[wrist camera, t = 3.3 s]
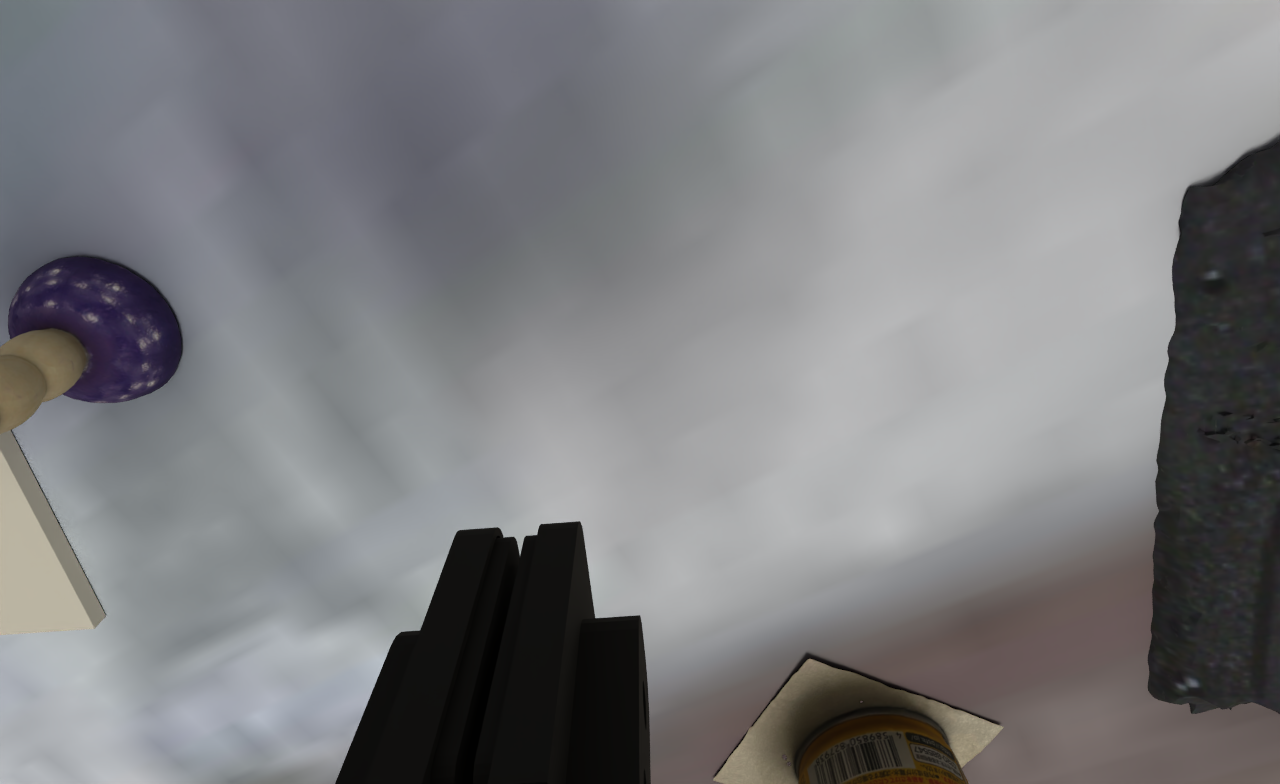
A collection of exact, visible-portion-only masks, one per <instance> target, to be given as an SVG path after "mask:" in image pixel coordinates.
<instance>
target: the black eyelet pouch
mask: <svg viewBox="0 0 1280 784" xmlns="http://www.w3.org/2000/svg"><path fill="white" fill-rule="evenodd" d="M1179 226H1180V230H1181V235H1180V239H1179V241H1178V244H1177V248H1176V251H1175V254H1174V258H1173V265H1172V281H1173V291H1174V297H1175V313H1176V326H1175V331H1174V334H1173V336H1172V338H1171V340H1170V342H1169V345H1168V351H1167V352H1168V356H1169V362H1168V367H1167V370H1166V373H1165V379H1164V387H1165V392H1166V401H1165V406H1164V410H1163V414H1162V420H1161V433H1160V443H1159V449H1158V454H1157V464H1158V474H1157V478H1156V481H1155V482H1156V501H1157V506H1158V509H1159V513H1158V515H1157V517H1156V519H1155V522H1154V529H1155V534H1156V535H1155V545H1154V551H1153V562H1154V583H1153V589H1152V597H1153V618H1152V623H1151V633H1152V640H1151V644H1150V650H1149V654H1148V665H1149V680H1148V691H1149V692H1150V694H1151V695H1152V696H1153V697H1154V698H1156V699H1158V700H1161V701H1165V702H1168V703H1173V704H1179V705H1182V704H1186V703H1189V705H1190V708H1191V713H1192V714H1197V713H1201V712H1205V711H1208V710H1212V709H1216V708H1221V709H1227V708H1229V709H1230V710H1231V708H1232V707H1234V706H1236V705H1238V704H1247V703H1251V702H1253V703H1256V704H1259V705H1262V706H1264V707H1266V708H1269V709H1271V710H1274V711H1276V712H1278V713H1279V714H1280V141H1279V142H1278V143H1277V144H1276V145H1274V146H1273V147H1272V148H1270V149H1267V150H1264V151H1261V152H1257V153H1255V154H1253V155H1250V156H1248V157H1247V158H1245V159H1244V160H1242V161H1241V162H1239V163H1238V164H1237V165H1236V166H1235V167H1234V168H1232V169H1231V170H1230V171H1229V172H1228V173H1227V174H1226V175H1225V176H1224V177H1223V178H1222V179H1221V180H1220V181H1219V182H1217V183H1216V184H1215V185H1213V186H1206V187H1190V189H1189V190H1188V192H1187V194H1186V197H1185V199H1184V202H1183V206H1182V209H1181V215H1180V219H1179Z"/></svg>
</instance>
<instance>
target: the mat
mask: <svg viewBox="0 0 1280 784" xmlns="http://www.w3.org/2000/svg"><path fill="white" fill-rule="evenodd" d="M105 617H106V615H105V613H104V611H103V609H102V607H101V605H100V603H99V601H98V600H97V598H96V596H95V594H94V592H93V590H92V588H91V586H90V584H89V582H88V580H87V578H86V576H85V574H84V572H83V570H82V568H81V566H80V565H79V563H78V561H77V559H76V557H75V555H74V553H73V551H72V549H71V547H70V545H69V543H68V541H67V539H66V537H65V535H64V533H63V531H62V529H61V528H60V526H59V524H58V522H57V520H56V518H55V516H54V514H53V512H52V510H51V508H50V506H49V504H48V502H47V500H46V498H45V496H44V494H43V492H42V491H41V489H40V487H39V485H38V483H37V481H36V479H35V477H34V475H33V473H32V471H31V469H30V467H29V465H28V463H27V461H26V459H25V457H24V455H23V454H22V452H21V450H20V448H19V446H18V444H17V442H16V440H15V438H14V436H13V434H12V432H11V430H9V431H7V432H4V433H2V434H0V635H6V634H21V633H36V632H52V631H67V630H82V629H95V628H96V627H97V626H98V624H99V623H100V622H101V621H102V620H103V619H104V618H105Z"/></svg>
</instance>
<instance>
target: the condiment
mask: <svg viewBox="0 0 1280 784" xmlns="http://www.w3.org/2000/svg"><path fill="white" fill-rule="evenodd" d="M860 701H863V703H860ZM1003 728H1004V727H1002V726H999V725H996V724H993V723H991V722H989V721H986V720H984V719H981V718H978V717H976V716H973V715H971V714H969V713H966V712H964V711H961V710H955V709H953V708H951V707H949V706H947V705H945V704H942V703H939V702H937V701H934V700H928V699H926V698H924V697H922V696H919V695H915V694H911V693H908V692H906V691H904V690H897V689H893V688H890V687H887V686H885V685H884V684H882V683H879V682H877V681H873V680H870V679H868V678H866V677H863V676H861V675H858V674H856V673H852V672H849V671H845V670H840V669H836V668H832V667H830V666H828V665H826V664H823V663H820V662H818V661H815V660H812V659H808V660H807V661H806V662H805V663H804V664H803V666H802V667H801V668H800V669H799V671H798V672H797V673H795V674H794V675H793V676H792V677H791V679H790V680H789V681H788V683H787V684H786V685H785V686H784V687H783V689H782V690H781V691H780V693H779V694H778V695H777V697H776V698H775V699H774V700H773V701H772V702H771V703H770V704H769V706H768V707H767V708H766V710H765V711H764V712H763V714H762V715H761V716H760V718H759V719H758V720H757V722H756V723H755V724H754V726H752V727H751V728H750V729H749V730H748V732H747V734H746V736H745V738H744V739H743V741H742V742H741V744H740V745H739V746H738V748H737V749H736V750H735V751H734V752H733V753H732V754H731V756H730V757H729V758H728V760H727V762H726V764H725V765H724V766H723V768H722V769H721V770H720V772H719V773H718V774H717V776H716V777H715V778H714V779H713V780H714V781H717V782H720V783H724V784H968V781H967V779H966V777H965V775H964V773H963V771H962V769H961V768H962V767H963V766H964V765H965V764H966V763H967V762H968V761H970V760H971V759H973V758H974V757H975V756H976V755H977V754H979V753H980V752H981V751H982V750H983V748H984V747H985V746H987V745H988V744H989V743H990V742H991V741H992V740H993V739H994V738H995V736H996V735H997V734H998V733H999V732H1000V731H1001V730H1002V729H1003ZM783 754H785V755H786V757H787V760H784V759H783V758H782V755H783ZM787 762H791V766H788V765H787Z"/></svg>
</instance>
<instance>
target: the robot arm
mask: <svg viewBox="0 0 1280 784" xmlns="http://www.w3.org/2000/svg"><path fill="white" fill-rule="evenodd" d="M335 784H651V781H650V730H649V702H648V684H647V671H646V660H645V650H644V640H643V631H642V623H641V617H640V615H639V616H624V617H610V618H595V614H594V607H593V600H592V592H591V585H590V578H589V571H588V564H587V557H586V550H585V542H584V535H583V529H582V525H581V523H580V521H579V522H566V523H552V524H541V525H540V526H539V529H538V534H537V535H533V536H526V537H525V538H524V542H523V546H522V551H521V555H519V550H518V545H517V541H516V539H515V538H514V537H505V538H503V534H502V532H501V530H500V529H499V528H498V527H497V528H484V529H470V530H459V531H458V532H457V533H456V535H455V537H454V540H453V543H452V545H451V548H450V551H449V554H448V556H447V559H446V562H445V564H444V567H443V570H442V573H441V575H440V578H439V581H438V584H437V586H436V589H435V592H434V595H433V597H432V600H431V603H430V606H429V608H428V611H427V614H426V616H425V619H424V622H423V625H422V627H421V630H420V631H407V632H401V633H400V634H398V635H397V636H396V637H395V639H394V641H393V643H392V645H391V647H390V649H389V652H388V654H387V657H386V659H385V662H384V664H383V667H382V669H381V672H380V674H379V677H378V679H377V682H376V684H375V687H374V689H373V691H372V694H371V696H370V699H369V701H368V704H367V706H366V709H365V711H364V714H363V716H362V719H361V721H360V724H359V726H358V729H357V731H356V733H355V736H354V738H353V741H352V743H351V746H350V748H349V751H348V753H347V756H346V758H345V761H344V763H343V766H342V768H341V771H340V773H339V775H338V778H337V780H336V783H335Z"/></svg>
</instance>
